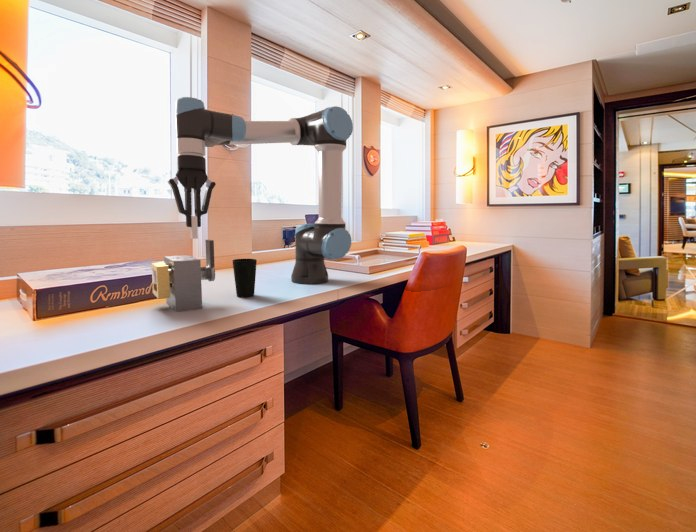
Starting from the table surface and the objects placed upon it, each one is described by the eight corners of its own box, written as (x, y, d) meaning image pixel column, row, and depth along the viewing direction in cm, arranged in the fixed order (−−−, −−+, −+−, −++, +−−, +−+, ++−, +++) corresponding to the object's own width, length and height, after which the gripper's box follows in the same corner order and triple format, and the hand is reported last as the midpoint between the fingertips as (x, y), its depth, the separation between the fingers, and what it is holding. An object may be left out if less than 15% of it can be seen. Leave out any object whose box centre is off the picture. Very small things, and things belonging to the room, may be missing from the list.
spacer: (164, 292, 111) (162, 262, 110) (170, 297, 104) (168, 265, 103) (153, 293, 110) (151, 263, 108) (158, 299, 102) (156, 266, 101)
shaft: (210, 279, 117) (209, 239, 115) (215, 282, 113) (214, 240, 111) (152, 284, 108) (150, 241, 106) (155, 287, 103) (153, 242, 102)
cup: (250, 299, 120) (250, 261, 118) (229, 297, 121) (227, 260, 120) (261, 294, 127) (260, 259, 126) (240, 292, 129) (239, 258, 127)
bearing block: (190, 299, 118) (188, 255, 117) (202, 308, 107) (200, 259, 105) (166, 301, 114) (163, 256, 112) (176, 311, 103) (173, 261, 101)
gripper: (210, 159, 114) (212, 237, 117) (164, 155, 106) (167, 238, 109) (218, 156, 108) (220, 238, 111) (169, 151, 100) (172, 239, 103)
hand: (194, 238), depth 110 cm, fingers closed
